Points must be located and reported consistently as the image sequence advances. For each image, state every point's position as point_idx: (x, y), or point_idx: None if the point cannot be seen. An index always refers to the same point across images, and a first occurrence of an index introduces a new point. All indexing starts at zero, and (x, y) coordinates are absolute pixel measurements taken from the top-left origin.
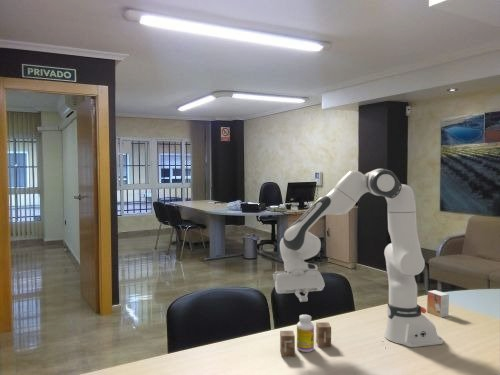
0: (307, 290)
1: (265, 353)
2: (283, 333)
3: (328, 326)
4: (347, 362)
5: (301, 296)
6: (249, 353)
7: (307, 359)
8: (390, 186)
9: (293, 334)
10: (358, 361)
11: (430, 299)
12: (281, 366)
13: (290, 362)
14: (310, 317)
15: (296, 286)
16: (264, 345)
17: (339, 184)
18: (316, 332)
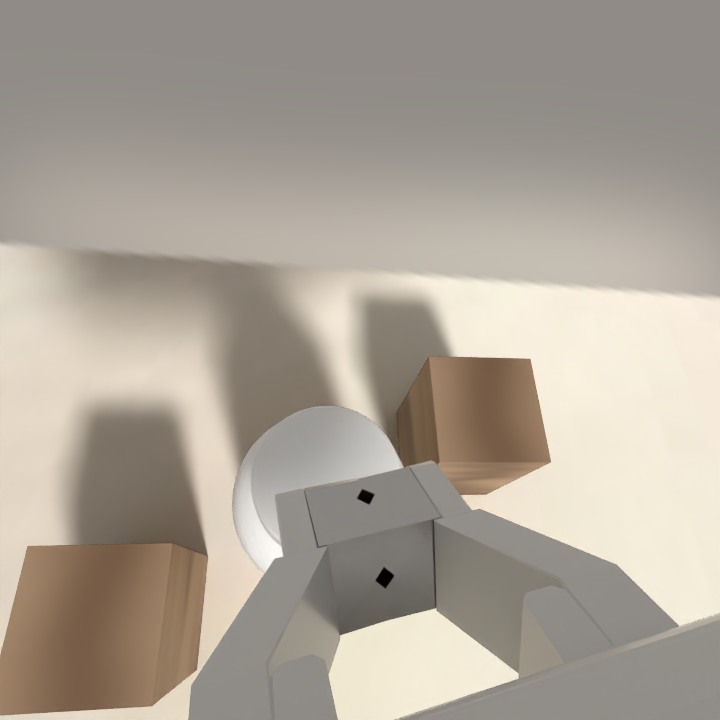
0: (226, 713)
1: (572, 463)
2: (518, 406)
3: (51, 565)
4: (96, 329)
5: (434, 508)
6: (664, 466)
7: (325, 376)
8: None
9: (438, 383)
10: (19, 336)
11: None
12: (471, 313)
13: (424, 349)
14: (268, 446)
15: None
16: None
17: None
18: (179, 669)
